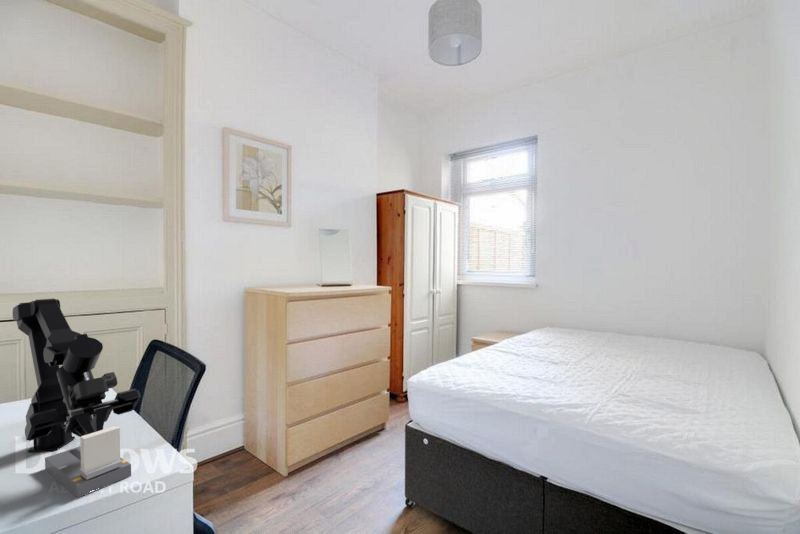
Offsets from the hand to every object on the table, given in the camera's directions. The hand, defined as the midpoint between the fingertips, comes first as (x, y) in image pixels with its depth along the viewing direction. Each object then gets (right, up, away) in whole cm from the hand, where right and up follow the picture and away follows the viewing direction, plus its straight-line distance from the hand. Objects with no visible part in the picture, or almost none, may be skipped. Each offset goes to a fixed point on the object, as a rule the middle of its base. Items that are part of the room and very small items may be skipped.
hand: (98, 446), depth 77 cm
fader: (+1, -4, -1) cm, 5 cm away
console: (-5, -7, +4) cm, 10 cm away
